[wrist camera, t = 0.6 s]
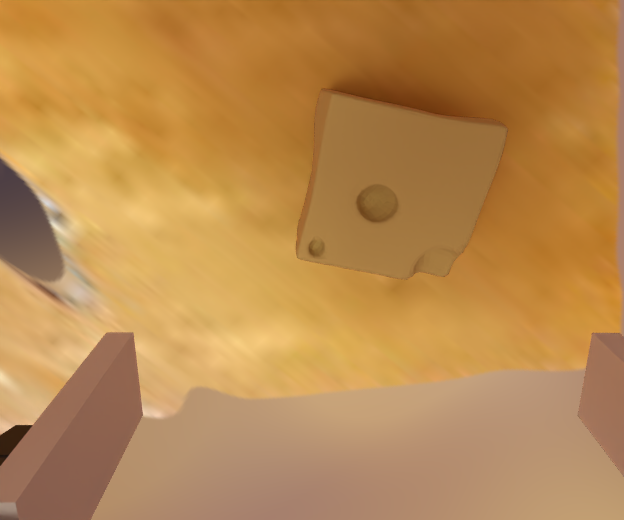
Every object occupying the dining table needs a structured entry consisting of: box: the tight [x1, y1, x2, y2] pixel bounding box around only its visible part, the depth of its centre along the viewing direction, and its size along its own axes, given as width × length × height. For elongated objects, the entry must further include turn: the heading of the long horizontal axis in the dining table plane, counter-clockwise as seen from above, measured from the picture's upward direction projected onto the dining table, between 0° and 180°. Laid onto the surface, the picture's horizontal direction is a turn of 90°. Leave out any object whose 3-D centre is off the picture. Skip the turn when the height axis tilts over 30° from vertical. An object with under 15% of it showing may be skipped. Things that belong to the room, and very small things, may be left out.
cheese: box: [296, 88, 508, 280], centre depth 36 cm, size 10×11×10 cm
